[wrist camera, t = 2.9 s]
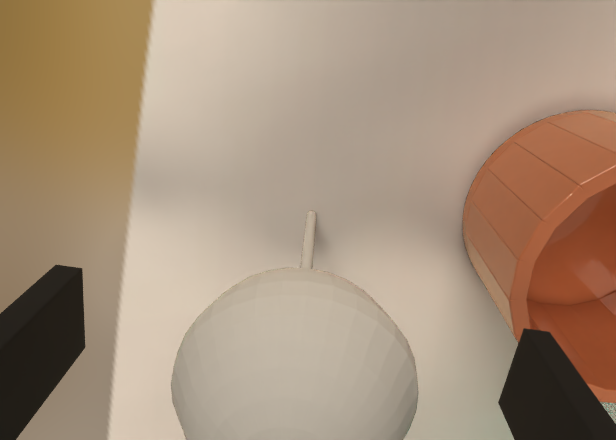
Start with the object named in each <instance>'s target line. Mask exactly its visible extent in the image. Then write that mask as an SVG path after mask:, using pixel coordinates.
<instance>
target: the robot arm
mask: <svg viewBox="0 0 616 440" xmlns="http://www.w3.org/2000/svg"><path fill="white" fill-rule="evenodd" d="M83 306H84V304H83V279H82V268H76V267H67V266H61V265H55V266H54V267H53V268H52V269H51V270H49V271H48V272H47V273H46V274H45V275H44V276H43V277H41V278H40V279H39V280H38V281H37V282H36V283H35V284H34V285H33V286H31V287H30V288H29V289H28V290H27V291H26V292H24V293H23V294H22V295H21V296H20V297H19V298H18V299H17V300H15V301H14V302H13V303H12V304H11V305H10V306H9V307H8V308H6V309H5V310H4V311H3V312H2V313H1V314H0V440H16V439H17V437H18V436H19V435H20V433H21V432H22V431H23V429H24V428H25V427H26V425H27V424H28V423H29V421H30V420H31V419H32V417H33V416H34V414H35V413H36V412H37V411H38V409H39V408H40V407H41V405H42V404H43V403H44V401H45V400H46V399H47V397H48V396H49V395H50V393H51V392H52V391H53V390H54V388H55V387H56V386H57V384H58V383H59V382H60V380H61V379H62V377H63V376H64V375H65V374H66V372H67V371H68V370H69V368H70V367H71V366H72V364H73V363H74V362H75V360H76V359H77V358H78V356H79V355H80V354H81V352H82V351H83V350H84V348H85V330H84V307H83ZM498 403H499V405H500V408H501V410H502V412H503V414H504V417H505V419H506V421H507V423H508V426H509V428H510V430H511V432H512V435H513V437H514V439H515V440H616V424H615V423H614V421H613V420H612V419H611V417H610V416H609V414H608V413H607V411H606V410H605V409H604V407H603V406H602V404H601V403H600V402H599V400H598V399H597V397H596V396H595V395H594V393H593V392H592V390H591V389H590V388H589V386H588V385H587V383H586V382H585V381H584V379H583V378H582V376H581V375H580V374H579V372H578V371H577V369H576V368H575V367H574V365H573V364H572V362H571V361H570V360H569V358H568V357H567V355H566V354H565V353H564V351H563V350H562V348H561V347H560V346H559V344H558V343H557V341H556V340H555V339H554V337H553V336H552V334H551V333H550V332H548V331H541V330H534V329H526V328H524V329H523V332H522V335H521V338H520V341H519V344H518V346H517V349H516V352H515V355H514V358H513V361H512V364H511V367H510V370H509V373H508V376H507V379H506V382H505V385H504V388H503V391H502V394H501V396H500V399H499V402H498Z"/></svg>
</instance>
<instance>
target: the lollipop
mask: <svg viewBox="0 0 616 440" xmlns="http://www.w3.org/2000/svg"><path fill="white" fill-rule="evenodd" d="M315 227H316V213H315V212H314V211H309V212H308V213H307V217H306V225H305V233H304V241H303V249H302V258H301V266H300V268H282V269H276V270H269V271H265V272H262V273H259V274H257V275H254V276H251V277H248V278H247V279H245V280H243V281H241V282H240V283H238V284H236V285H235V286H233V287H231V288H230V289H229V290H227V291H226V292H224V293H223V294H222V295H221V296H220V297H219V298H218V299H217V300H215V301H214V302H213V303H212V304H211V305H210V306H209V307H208V308H207V309H206V310H205V311H204V312H203V313H202V314H201V315H200V316H199V317H198V318H197V319H196V320H195V322H194V323H193V324H192V326H191V327H190V328H189V330H188V331H187V332H186V334H185V336H184V338H183V341H182V343H181V345H180V348H179V350H178V353H177V357H176V360H175V364H174V368H173V375H172V381H171V390H172V399H173V405H174V407H175V410H176V413H177V416H178V419H179V421H180V424H181V426H182V429H183V431H184V434H185V437H186V440H403V439H404V437H405V435H406V434H407V432H408V430H409V428H410V426H411V423H412V421H413V418H414V415H415V413H416V408H417V400H418V383H417V373H416V366H415V359H414V356H413V354H412V351H411V349H410V346H409V344H408V341H407V339H406V338H405V337H404V335H403V334H402V332H401V331H400V330H399V328H398V327H397V325H396V324H395V323H394V321H393V320H392V319H391V318H390V317H389V316H388V315H387V313H386V312H385V311H384V310H383V309H382V308H381V307H380V306H379V305H378V304H377V303H376V302H375V301H374V300H373V299H372V298H371V297H370V296H369V295H368V294H367V293H366V292H365V291H364V290H362V289H361V288H359V287H358V286H356V285H354V284H353V283H351V282H350V281H348V280H346V279H344V278H341V277H339V276H336V275H334V274H331V273H329V272H324V271H319V270H314V269H312V267H313V254H314V240H315Z"/></svg>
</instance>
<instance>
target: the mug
mask: <svg viewBox="0 0 616 440" xmlns="http://www.w3.org/2000/svg"><path fill="white" fill-rule="evenodd" d="M463 237H464V242H465V247H466V250H467V253H468V256H469V258H470V260H471V263H472V265H473V266H474V268H475V270H476V271H477V273H478V275H479V277H480V278H481V280H482V282H483V283H484V285H485V287H486V289H487V290H488V292H489V294H490V295H491V297H492V299H493V301H494V302H495V304H496V306H497V307H498V309H499V311H500V313H501V314H502V316H503V318H504V319H505V321H506V323H507V325H508V326H509V328H510V330H511V331H512V333H513V335H514V337H515V338H516V340H517V342H518V343H519V341H520V338H521V335H522V332H523V329H524V328H526V329H534V330H541V331H548V332H550V333H551V334H552V336H553V337H554V339H555V340H556V341H557V343H558V344H559V346H560V347H561V348H562V350H563V351H564V353H565V354H566V355H567V357H568V358H569V360H570V361H571V362H572V364H573V365H574V367H575V368H576V369H577V371H578V372H579V374H580V375H581V376H582V378H583V379H584V381H585V382H586V383H587V385H588V386H589V388H590V389H591V390H592V392H593V393H594V395H595V396H596V397H597V399H598V400H599V402H607V403H616V113H613V112H608V111H599V110H579V111H572V112H565V113H561V114H558V115H554V116H550V117H548V118H545V119H543V120H540V121H538V122H535V123H533V124H531V125H530V126H528V127H526V128H524V129H522V130H520V131H519V132H518V133H516V134H515V135H513V136H512V137H510V138H509V139H508V140H507V141H505V142H504V143H503V144H502V145H501V146H500V147H499V148H498V149H496V151H495V152H494V153H493V154H492V155H491V156H490V157H489V158H488V159H487V161H486V162H485V164H484V165H483V166H482V168H481V169H480V171H479V172H478V174H477V176H476V178H475V179H474V181H473V183H472V185H471V188H470V190H469V193H468V196H467V199H466V203H465V207H464V213H463Z"/></svg>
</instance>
